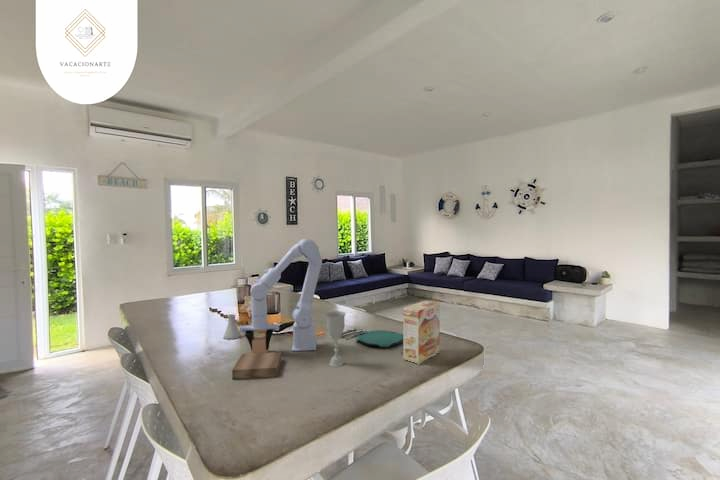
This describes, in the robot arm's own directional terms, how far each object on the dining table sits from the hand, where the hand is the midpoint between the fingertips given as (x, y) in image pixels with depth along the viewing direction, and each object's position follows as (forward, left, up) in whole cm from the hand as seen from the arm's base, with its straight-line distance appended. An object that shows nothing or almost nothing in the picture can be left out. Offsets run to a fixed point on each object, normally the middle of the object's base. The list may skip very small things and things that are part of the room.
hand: (260, 349), depth 134 cm
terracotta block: (0, 0, -2) cm, 2 cm away
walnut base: (-2, +15, -2) cm, 15 cm away
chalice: (-29, +14, -2) cm, 32 cm away
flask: (+16, -22, -2) cm, 27 cm away
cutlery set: (-45, -11, -2) cm, 47 cm away
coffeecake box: (-61, +12, -2) cm, 62 cm away
